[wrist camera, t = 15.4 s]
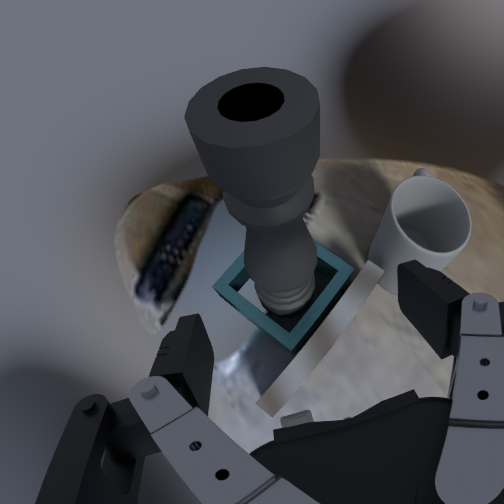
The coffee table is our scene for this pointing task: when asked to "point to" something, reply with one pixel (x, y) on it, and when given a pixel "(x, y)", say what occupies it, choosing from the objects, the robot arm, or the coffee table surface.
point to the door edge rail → (321, 340)
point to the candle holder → (265, 173)
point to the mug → (420, 227)
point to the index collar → (291, 341)
